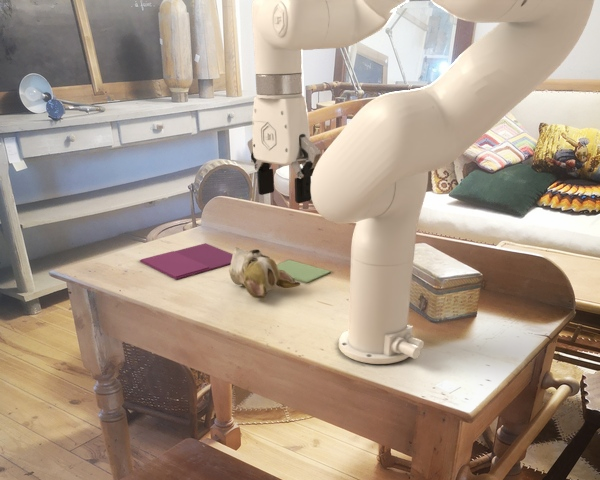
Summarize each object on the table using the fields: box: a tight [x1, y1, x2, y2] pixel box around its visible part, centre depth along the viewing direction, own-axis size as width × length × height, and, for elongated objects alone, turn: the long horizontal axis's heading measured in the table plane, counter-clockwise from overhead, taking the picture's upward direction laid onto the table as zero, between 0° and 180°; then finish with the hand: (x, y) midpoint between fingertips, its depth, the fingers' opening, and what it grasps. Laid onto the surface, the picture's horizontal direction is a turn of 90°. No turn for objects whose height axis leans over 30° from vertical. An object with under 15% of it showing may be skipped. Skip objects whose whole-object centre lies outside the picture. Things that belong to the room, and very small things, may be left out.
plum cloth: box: [139, 243, 233, 280], centre depth 136 cm, size 16×18×1 cm
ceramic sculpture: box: [228, 246, 301, 299], centre depth 118 cm, size 11×9×15 cm
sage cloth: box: [276, 259, 331, 284], centre depth 129 cm, size 12×8×1 cm, turn 49°
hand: (284, 197), depth 104 cm, fingers open, 9 cm apart
